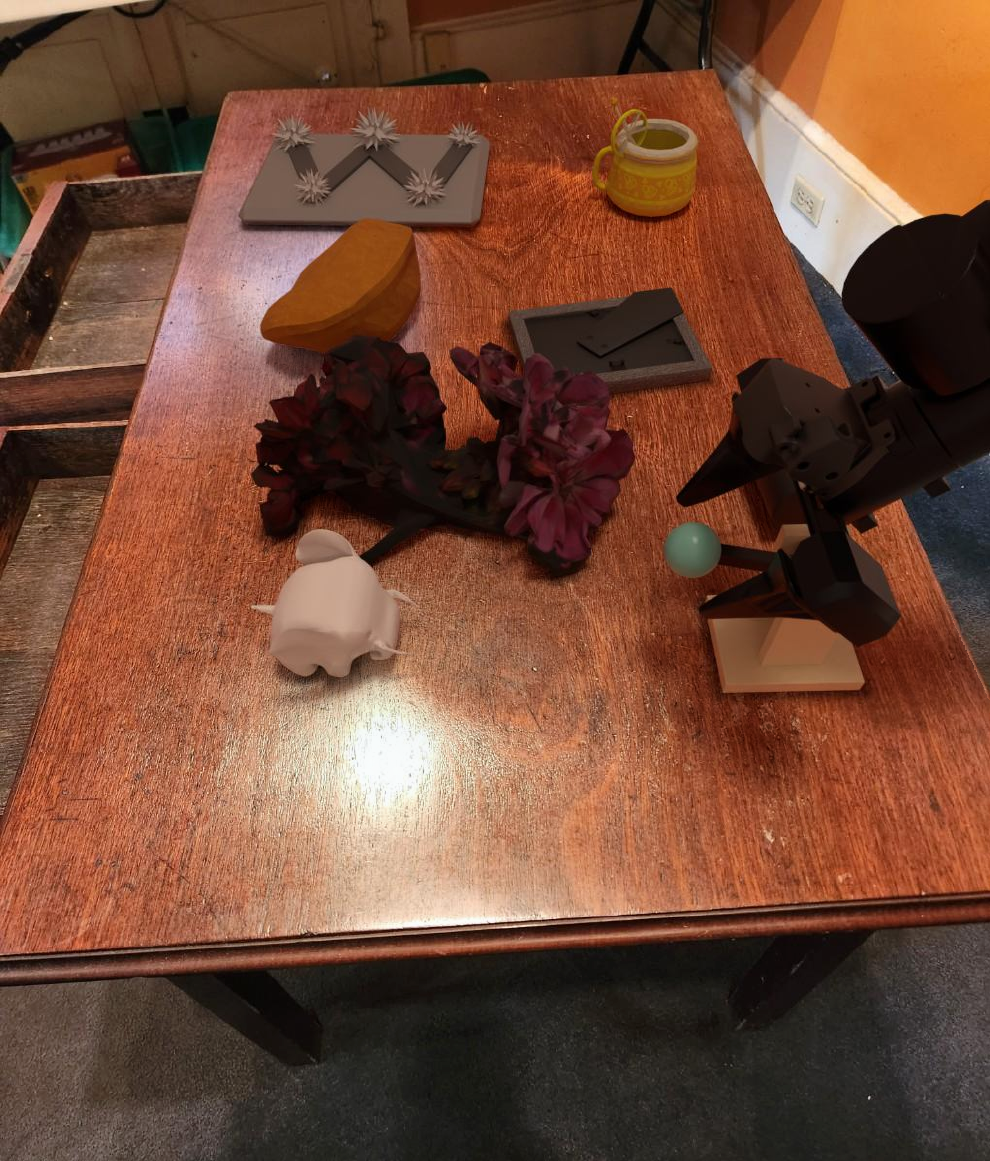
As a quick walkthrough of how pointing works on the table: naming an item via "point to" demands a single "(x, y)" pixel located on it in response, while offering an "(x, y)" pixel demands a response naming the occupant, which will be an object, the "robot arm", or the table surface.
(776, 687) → the bracket
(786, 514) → the end cap
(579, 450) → the flower arrangement
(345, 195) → the decorative plate
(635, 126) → the mug
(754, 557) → the lever
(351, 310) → the bread
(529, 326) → the picture frame
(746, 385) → the robot arm
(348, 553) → the elephant figurine
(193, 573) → the table surface
